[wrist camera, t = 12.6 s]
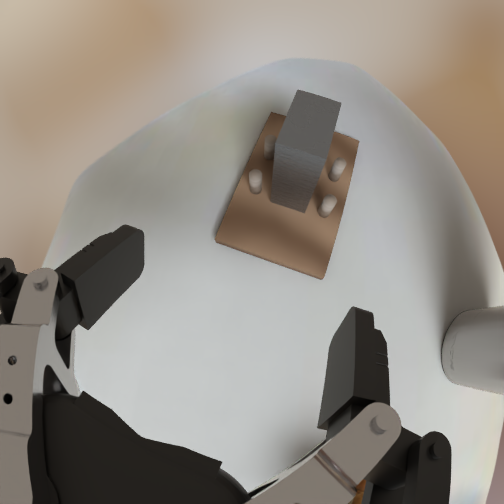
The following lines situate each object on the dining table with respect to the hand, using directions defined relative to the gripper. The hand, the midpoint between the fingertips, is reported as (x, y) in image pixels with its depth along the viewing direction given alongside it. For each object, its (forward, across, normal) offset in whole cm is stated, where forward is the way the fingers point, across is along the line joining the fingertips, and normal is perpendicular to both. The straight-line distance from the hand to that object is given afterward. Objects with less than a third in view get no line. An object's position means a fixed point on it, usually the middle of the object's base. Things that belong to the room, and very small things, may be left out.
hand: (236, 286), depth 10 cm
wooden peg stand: (+21, 0, +3) cm, 22 cm away
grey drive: (+20, 0, +2) cm, 21 cm away
